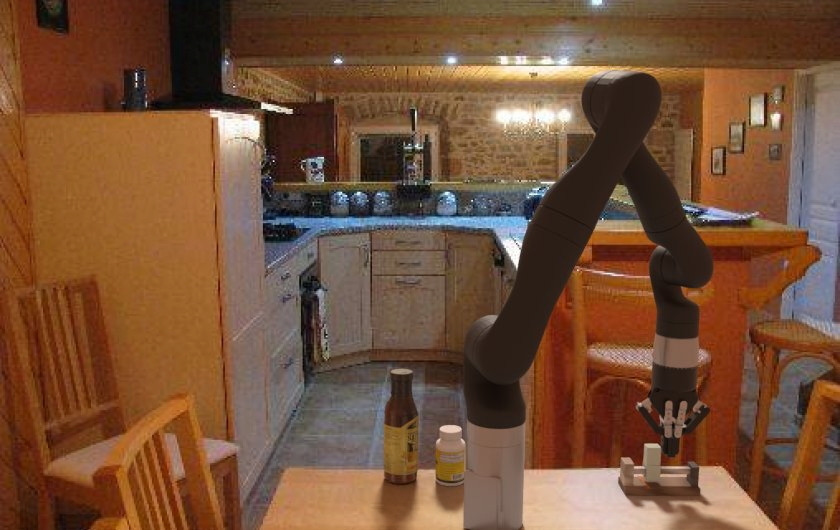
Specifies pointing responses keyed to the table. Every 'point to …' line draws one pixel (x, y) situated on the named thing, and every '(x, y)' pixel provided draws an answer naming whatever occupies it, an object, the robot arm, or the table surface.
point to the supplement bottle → (450, 456)
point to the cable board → (661, 486)
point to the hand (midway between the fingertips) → (669, 456)
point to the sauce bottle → (401, 430)
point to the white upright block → (652, 461)
